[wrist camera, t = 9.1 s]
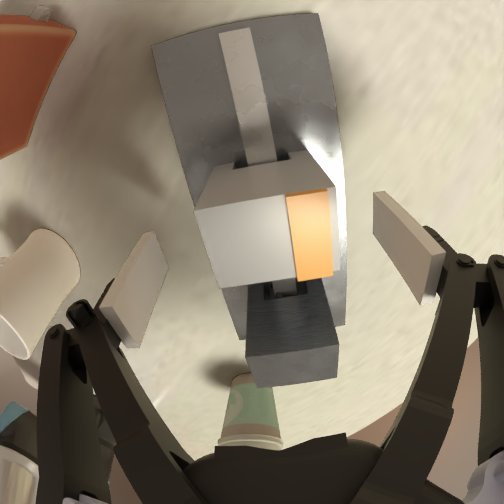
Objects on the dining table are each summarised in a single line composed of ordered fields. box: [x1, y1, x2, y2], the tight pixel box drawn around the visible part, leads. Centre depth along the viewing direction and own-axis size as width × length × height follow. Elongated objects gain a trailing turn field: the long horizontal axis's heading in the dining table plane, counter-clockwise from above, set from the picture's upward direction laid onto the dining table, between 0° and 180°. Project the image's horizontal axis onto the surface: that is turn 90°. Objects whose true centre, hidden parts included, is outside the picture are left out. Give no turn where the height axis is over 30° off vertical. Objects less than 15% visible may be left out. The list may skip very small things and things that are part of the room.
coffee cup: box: [218, 373, 284, 450], centre depth 33 cm, size 8×9×12 cm
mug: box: [0, 229, 80, 360], centre depth 21 cm, size 12×8×12 cm
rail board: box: [151, 13, 347, 388], centre depth 19 cm, size 30×12×9 cm, turn 11°
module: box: [193, 150, 340, 288], centre depth 18 cm, size 5×7×8 cm
